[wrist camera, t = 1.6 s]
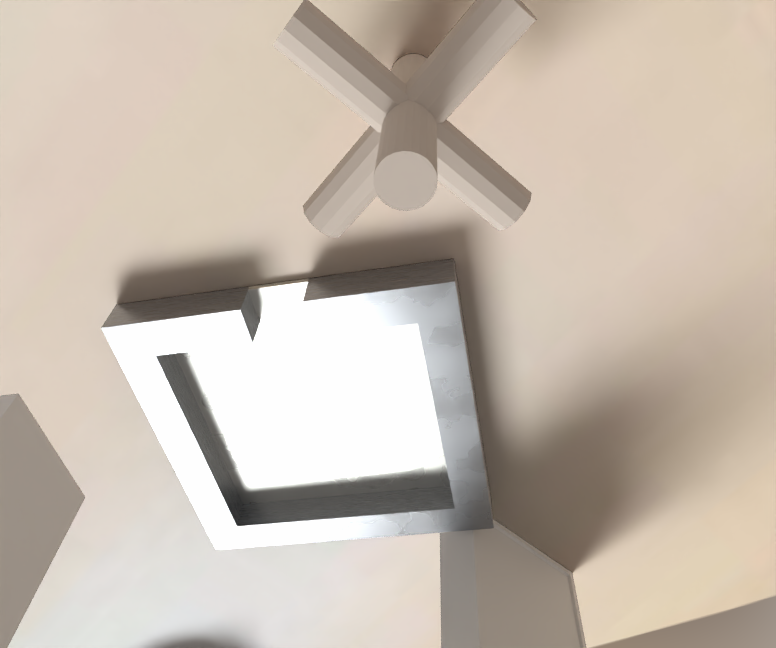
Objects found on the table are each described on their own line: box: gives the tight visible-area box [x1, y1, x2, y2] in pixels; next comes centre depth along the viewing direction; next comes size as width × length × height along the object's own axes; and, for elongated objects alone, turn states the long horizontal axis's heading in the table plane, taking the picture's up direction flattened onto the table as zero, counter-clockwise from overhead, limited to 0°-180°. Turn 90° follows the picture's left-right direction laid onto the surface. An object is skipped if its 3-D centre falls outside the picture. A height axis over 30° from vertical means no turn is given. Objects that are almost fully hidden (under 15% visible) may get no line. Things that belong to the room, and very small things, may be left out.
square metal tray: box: [101, 259, 494, 550], centre depth 38 cm, size 17×17×2 cm
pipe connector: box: [272, 0, 537, 238], centre depth 24 cm, size 10×10×10 cm
